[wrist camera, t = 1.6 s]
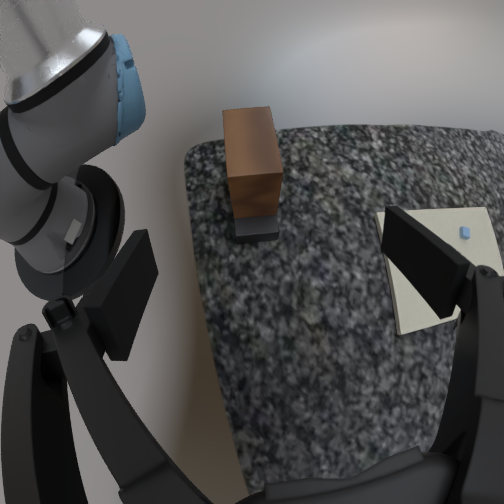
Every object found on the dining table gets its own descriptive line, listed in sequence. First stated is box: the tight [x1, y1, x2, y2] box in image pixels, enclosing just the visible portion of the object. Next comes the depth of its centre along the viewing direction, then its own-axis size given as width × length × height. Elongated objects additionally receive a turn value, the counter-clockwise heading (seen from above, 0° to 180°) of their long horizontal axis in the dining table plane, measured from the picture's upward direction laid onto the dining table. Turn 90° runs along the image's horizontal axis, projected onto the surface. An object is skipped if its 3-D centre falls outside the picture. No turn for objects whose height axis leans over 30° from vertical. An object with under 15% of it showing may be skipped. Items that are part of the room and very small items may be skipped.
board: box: [374, 207, 504, 335], centre depth 31 cm, size 22×15×1 cm
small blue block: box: [460, 226, 470, 240], centre depth 31 cm, size 2×2×1 cm
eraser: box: [222, 106, 283, 244], centre depth 29 cm, size 5×12×11 cm, turn 6°
